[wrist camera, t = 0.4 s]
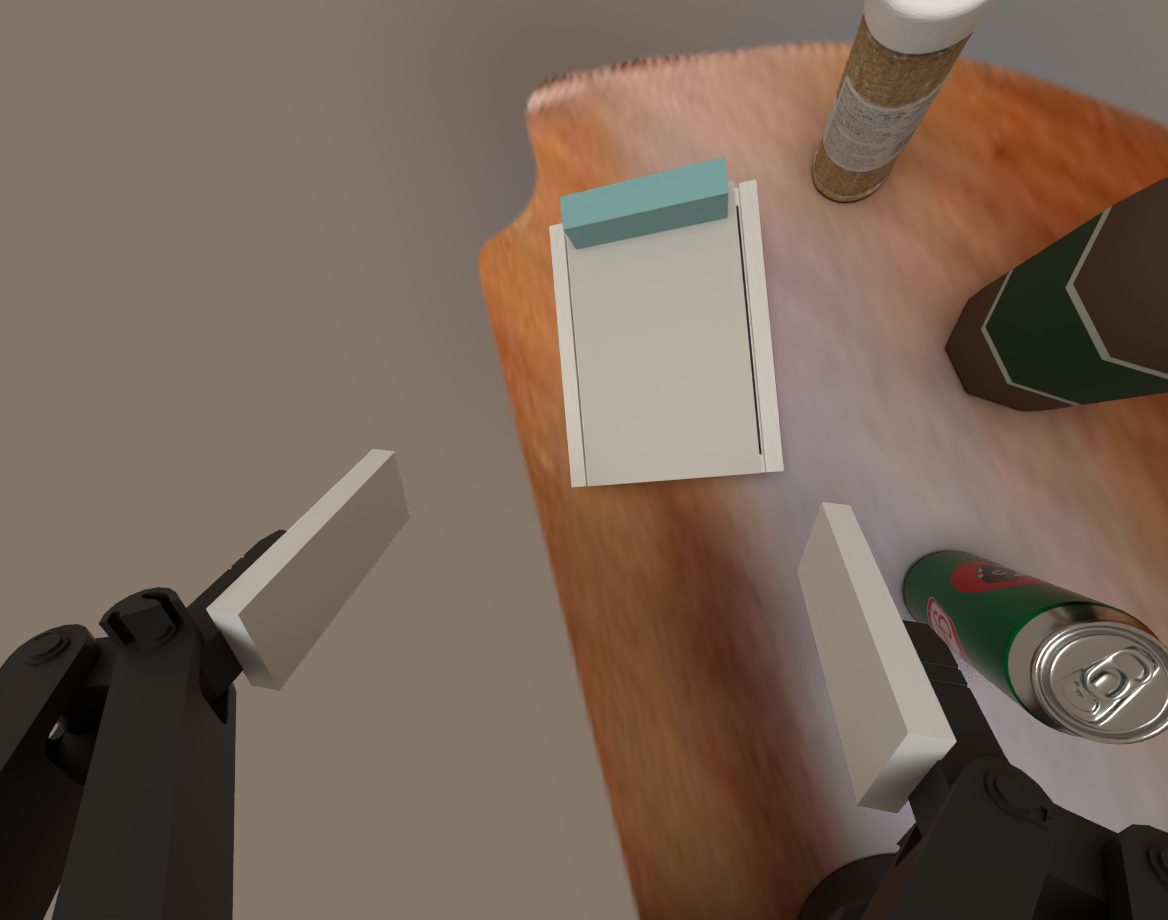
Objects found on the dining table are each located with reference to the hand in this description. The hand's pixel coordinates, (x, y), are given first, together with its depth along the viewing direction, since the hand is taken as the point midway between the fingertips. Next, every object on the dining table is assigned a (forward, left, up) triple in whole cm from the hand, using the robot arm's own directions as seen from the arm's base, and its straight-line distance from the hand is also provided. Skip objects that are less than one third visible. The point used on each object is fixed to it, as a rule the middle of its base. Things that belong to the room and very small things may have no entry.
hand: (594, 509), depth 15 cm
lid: (+8, -1, -14) cm, 16 cm away
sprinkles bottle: (+18, -13, -19) cm, 29 cm away
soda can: (-8, -16, -19) cm, 26 cm away
